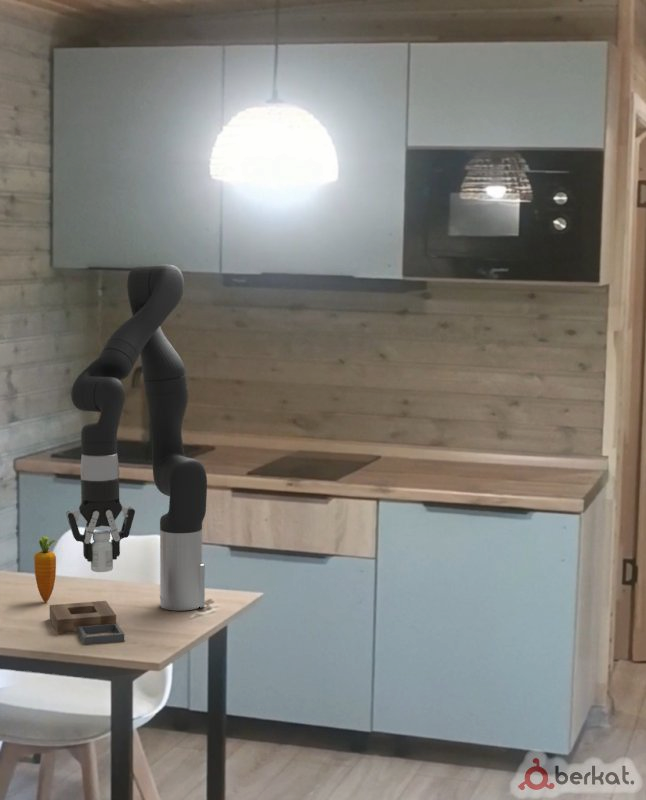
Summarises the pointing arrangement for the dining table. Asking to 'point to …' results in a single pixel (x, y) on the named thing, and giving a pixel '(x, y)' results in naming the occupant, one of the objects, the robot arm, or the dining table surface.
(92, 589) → the dining table surface
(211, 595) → the dining table surface
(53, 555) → the carrot
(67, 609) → the socket block
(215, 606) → the dining table surface
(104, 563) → the pill bottle
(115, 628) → the tray
